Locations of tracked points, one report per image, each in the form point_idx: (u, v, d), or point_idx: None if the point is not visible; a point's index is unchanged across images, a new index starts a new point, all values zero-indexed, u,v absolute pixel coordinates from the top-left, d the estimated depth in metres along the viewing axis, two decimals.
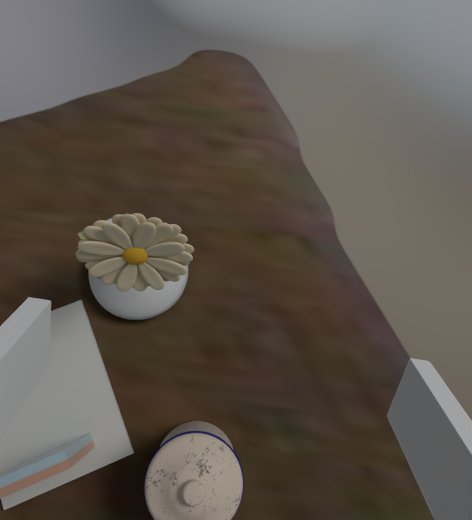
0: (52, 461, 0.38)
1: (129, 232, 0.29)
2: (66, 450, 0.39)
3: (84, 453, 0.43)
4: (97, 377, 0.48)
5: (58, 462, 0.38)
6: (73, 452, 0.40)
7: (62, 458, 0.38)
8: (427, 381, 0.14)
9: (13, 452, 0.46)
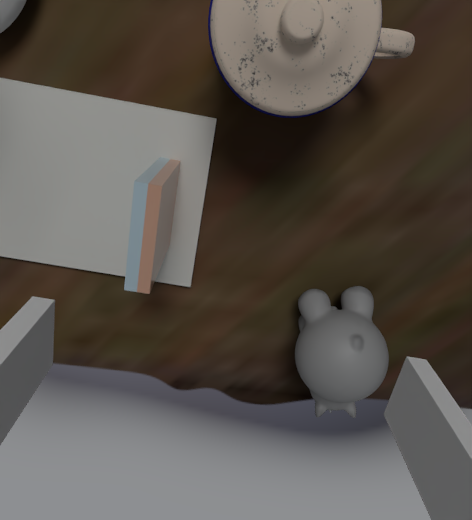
0: (140, 203, 0.25)
1: None
2: (137, 180, 0.25)
3: (170, 170, 0.29)
4: (93, 110, 0.32)
5: (146, 197, 0.25)
6: (151, 176, 0.27)
7: (143, 189, 0.25)
8: (423, 379, 0.15)
9: None
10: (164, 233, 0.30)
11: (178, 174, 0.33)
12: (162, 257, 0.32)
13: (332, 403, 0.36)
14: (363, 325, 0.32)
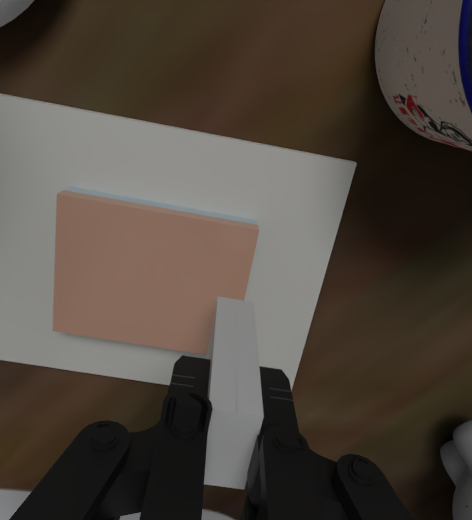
0: None
1: None
2: (78, 188, 0.20)
3: (168, 212, 0.19)
4: (159, 148, 0.20)
5: None
6: (107, 196, 0.20)
7: None
8: (238, 315, 0.16)
9: None
10: (141, 296, 0.21)
11: (246, 248, 0.20)
12: (148, 335, 0.21)
13: None
14: None
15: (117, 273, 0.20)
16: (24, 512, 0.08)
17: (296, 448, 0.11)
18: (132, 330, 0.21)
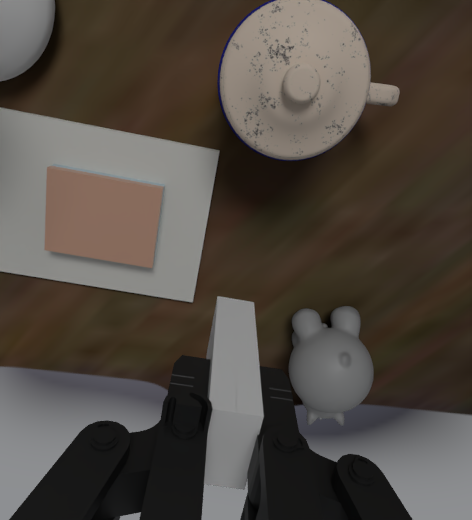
0: None
1: None
2: (59, 165, 0.35)
3: (110, 178, 0.34)
4: (105, 141, 0.34)
5: None
6: (76, 169, 0.35)
7: None
8: (238, 315, 0.16)
9: (141, 269, 0.39)
10: (96, 228, 0.35)
11: (155, 199, 0.35)
12: (101, 253, 0.36)
13: (322, 412, 0.39)
14: (351, 343, 0.36)
15: (82, 214, 0.35)
16: (24, 512, 0.08)
17: (297, 448, 0.11)
18: (92, 249, 0.36)
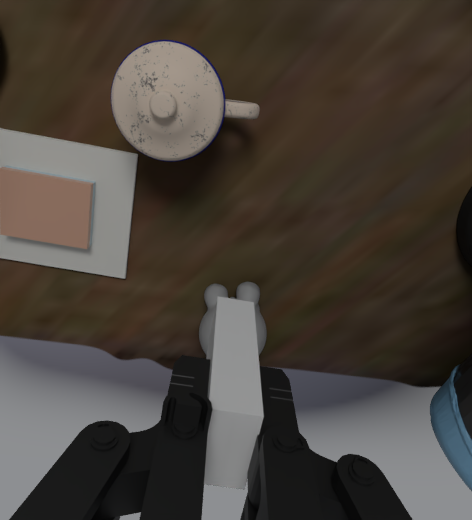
0: None
1: None
2: (10, 166, 0.44)
3: (49, 176, 0.43)
4: (46, 147, 0.43)
5: None
6: (23, 170, 0.43)
7: None
8: (238, 315, 0.16)
9: (81, 251, 0.47)
10: (40, 217, 0.44)
11: (86, 193, 0.43)
12: (46, 236, 0.45)
13: None
14: None
15: (28, 205, 0.44)
16: (24, 512, 0.08)
17: (297, 448, 0.11)
18: (38, 234, 0.45)
